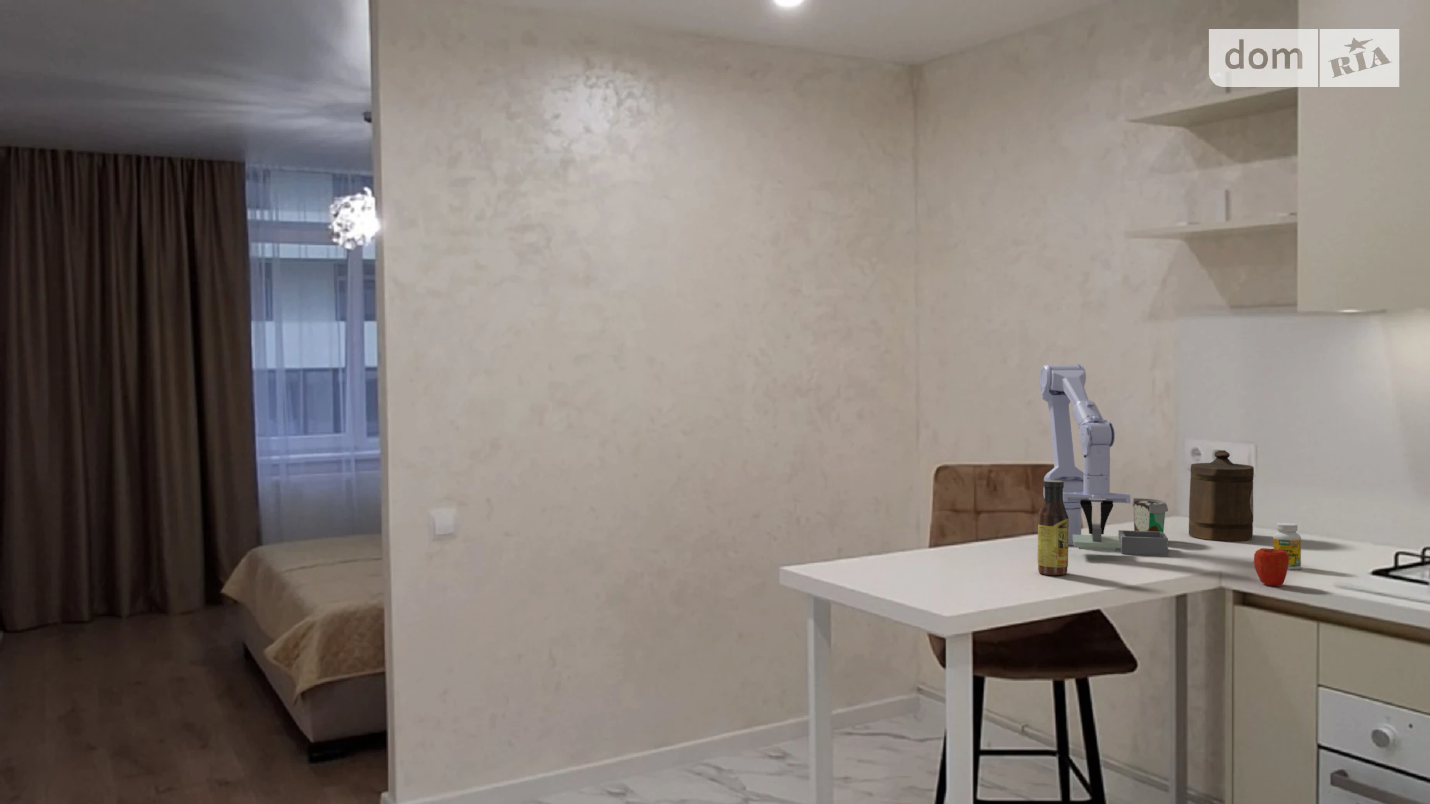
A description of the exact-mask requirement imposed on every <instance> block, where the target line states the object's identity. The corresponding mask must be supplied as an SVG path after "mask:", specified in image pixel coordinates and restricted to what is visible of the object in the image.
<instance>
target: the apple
mask: <svg viewBox="0 0 1430 804" xmlns="http://www.w3.org/2000/svg"><path fill="white" fill-rule="evenodd" d="M1288 564H1289V556H1288V554H1287V553H1286V552H1285V551H1283V550H1279V549H1273V548H1269V547H1267V548H1266V547H1265V548H1264V547H1263V548H1262V547H1261V548H1258V549H1257V550H1256V551H1255V553H1254V554H1253V565H1254V570H1255V572H1256V575H1257V577H1258V579H1259V581H1260V582H1261V583H1262V584H1264V585H1266V586H1270V587H1271V586H1272V587H1281V586H1282V585H1283V584H1284V583H1285V580H1286V577H1287V573H1288V570H1287V569H1288Z"/></svg>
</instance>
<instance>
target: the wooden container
mask: <svg viewBox="0 0 1430 804" xmlns="http://www.w3.org/2000/svg"><path fill="white" fill-rule="evenodd" d="M1230 456H1231V454H1230V453H1229V451H1227V450H1225V449H1223V450H1222V449H1221V450H1220V449H1219V450H1218V451H1215V452H1214V457H1215V458H1214V459H1213V461H1211V462H1198V463H1197V462H1196V463H1192V464H1191V465H1190V479H1189V480H1190V481H1189V501H1188V503H1189V504H1188V535H1189V536H1190V537H1192V538H1196V539H1199V540H1207V541H1215V542H1245V541H1250V540H1252V539H1253V535H1254V534H1253V533H1254V474H1255V469H1254V468H1255V467H1254V466H1253V465H1250V464H1244V463H1243V464H1240V463H1233V462H1232V461H1231V460H1230V459H1229V457H1230Z"/></svg>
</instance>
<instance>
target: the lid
mask: <svg viewBox="0 0 1430 804" xmlns="http://www.w3.org/2000/svg"><path fill="white" fill-rule="evenodd" d="M1072 539H1073V543H1074V545H1073V546H1074V547H1078V549H1079V550H1085V551H1086V550H1092V551H1113V552H1114V551H1116V549H1119V548H1121V542H1120V540H1119V538H1118V535H1102V534H1101V526H1100V523H1092V534H1081V535H1073V538H1072Z"/></svg>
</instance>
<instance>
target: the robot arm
mask: <svg viewBox="0 0 1430 804" xmlns="http://www.w3.org/2000/svg"><path fill="white" fill-rule="evenodd" d="M1039 373H1040V375H1039V387H1040V396H1041V399H1042V400H1043V401H1045V402H1046V403H1047V405H1048V406H1047V408H1048V414H1049V423H1050V425H1049V426H1050V436H1051V446H1052V457H1053V458H1052V459H1053V466H1054V467H1053V468H1052V469H1051V470H1050V471H1048V472H1047V473H1046V474H1045V475H1044V477H1043V482H1044V481H1047V480H1058V481H1063V482H1064V487H1063V503H1064V506H1065V509H1066V512H1067V515H1068V518H1069V536H1068V546H1069V545H1070V546H1072V545H1073V546H1074V543H1073V539H1072V538H1073V535H1082V511H1083V513H1084V516H1085V519H1086V523H1087V526H1088V535H1091V534H1092V524H1093V503H1100V522H1099V524H1100V526H1101V535H1105V534H1104V533H1105V529H1106V524H1107V520H1108V519H1109V516H1110V514H1111V512H1112V510H1113V507H1114V503H1119V504H1131V494H1130V493H1119V492H1118V493H1117V492H1116V493H1115V492H1110V489H1111V488H1110V487H1111V486H1110V484H1111V483H1110V482H1111V481H1110V480H1111V479H1110V478H1111V447H1113V445H1114V443H1115V438H1116V437H1115V436H1116V435H1115V433H1116V432H1115V427H1114V425H1113V423H1112V421H1108V420H1107V419H1104V418H1103V416H1102V414H1101V412H1100V410H1099V408H1098V406H1097V405H1096V403H1095V402H1094V401H1092V400H1090V399H1089V397H1088V394H1087V391H1086V389H1085V384H1086V383H1087V373H1086V369H1085V368H1084V365H1082V364H1079V363H1078V364H1055V365H1054V364H1044V365H1043V366H1042V368H1041V370H1040V372H1039ZM1070 403H1071V404H1072V406H1073V408H1072V416H1073V418H1074V420H1075V422H1076V424H1077V426H1078V429H1079V434H1078V435H1079V436H1078V437H1079V443H1080V450H1081V451H1080V452H1081V454H1082V455H1083V471H1082V470H1081V469H1079V468H1078V467H1077V466H1076V465H1075V455H1074V443H1073V436H1072V434H1073V433H1072V426H1071V425H1072V423H1071V415H1070ZM1042 491H1043V495H1042V496H1043V499H1044V498H1045V488H1044V487H1043V490H1042Z"/></svg>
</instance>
